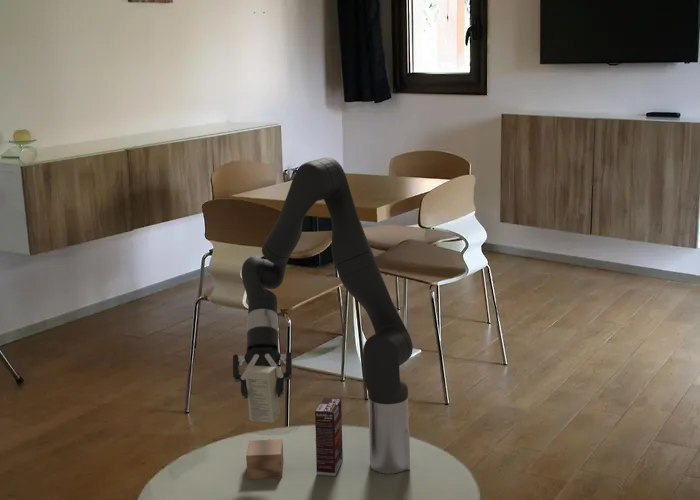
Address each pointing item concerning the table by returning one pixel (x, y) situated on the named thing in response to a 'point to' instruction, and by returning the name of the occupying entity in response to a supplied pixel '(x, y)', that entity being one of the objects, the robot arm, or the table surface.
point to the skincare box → (262, 393)
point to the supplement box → (328, 436)
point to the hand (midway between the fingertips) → (262, 396)
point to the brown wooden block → (265, 459)
